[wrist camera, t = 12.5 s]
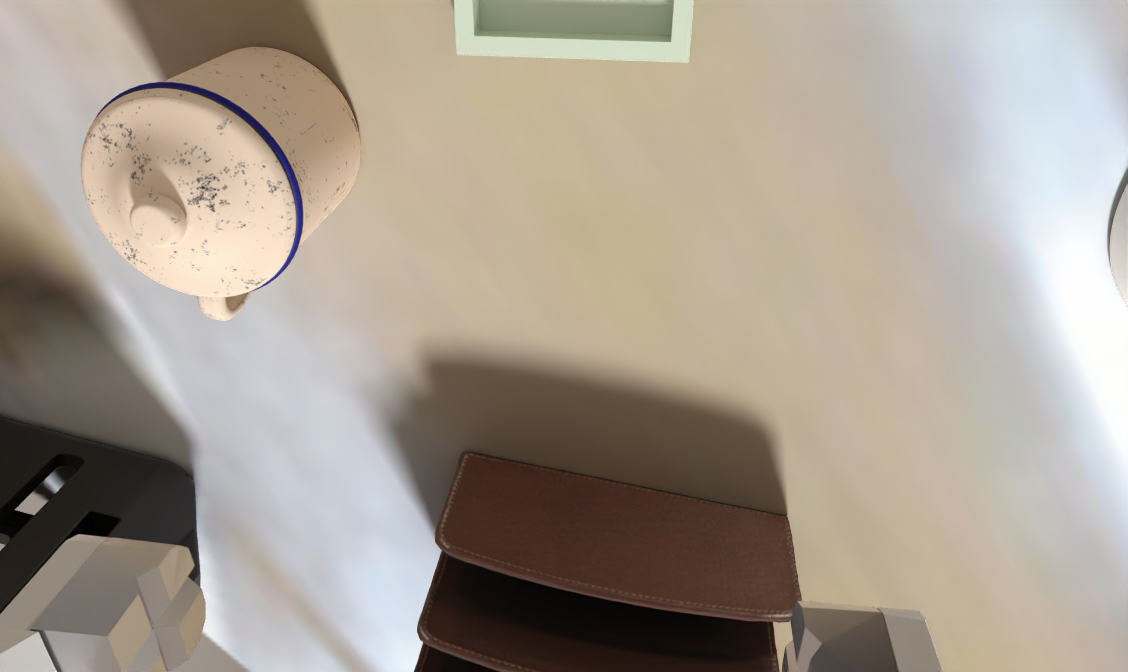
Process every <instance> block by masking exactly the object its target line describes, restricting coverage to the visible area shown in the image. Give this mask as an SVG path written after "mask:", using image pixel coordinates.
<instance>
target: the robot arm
mask: <svg viewBox="0 0 1128 672" xmlns="http://www.w3.org/2000/svg"><path fill="white" fill-rule="evenodd" d="M1110 263H1111V270H1112V274H1113V278H1114V281H1115V284H1116V287H1117V289H1118V291H1119V294H1120V295H1121V297H1122V299H1123V300H1124V302H1125V304H1126V305H1127V306H1128V184H1127V186H1126V188H1125V190H1124V192H1123V194H1122V196H1121V199H1120V201H1119V204H1118V207H1117V210H1116V213H1115V216H1114V220H1113V224H1112V229H1111V236H1110ZM194 566H195V565H194V562H193V559H192V556H191V554H190V551H189V548H187V547H183V546H180V545H172V544H164V543H155V542H147V541H139V540H130V539H122V538H109V537H100V536H91V535H82V534H78V535H76V536H74V537H72V538H70V539H68V540H66V541H65V542H64V543H63V544H62V545H61V546H60V548H59V549H58V550H57V551H56V552H55V553H54V554H53V555H52V557H51V558H50V559H49V560H48V561H47V562H46V563H45V564H44V566H43V567H42V568H41V569H40V570H39V571H38V572H37V573H36V575H35V576H34V577H33V578H32V579H31V580H30V581H29V582H28V584H27V585H26V586H25V587H24V588H23V589H22V590H21V591H20V593H19V594H18V595H17V596H16V597H15V598H14V599H13V600H12V602H11V603H10V604H9V605H8V606H7V607H6V608H5V609H4V611H3V612H2V613H1V614H0V672H170V671H172V670H173V669H175V668H176V667H178V666H179V665H181V664H182V663H184V662H185V661H187V660H188V659H189V658H190V656H191V654H192V653H193V651H194V649H195V647H196V646H197V644H198V642H199V640H200V636H201V633H202V629H203V626H204V622H205V599H204V596H203V592H202V589H201V588H200V587H199V586H198V585H196V584H195V583H194V582H193V581H192V580H191V579H190V578H189V577H188V575H189V574H190V572H191V571H192V569H193V568H194ZM791 627H792V634H793V641H791V642H790V643H789V644H787V645H786V647H785V653H784V659H783V665H782V672H943V670H942V667H941V664H940V661H939V658H938V655H937V652H936V649H935V646H934V643H933V640H932V637H931V634H930V631H929V628H928V625H927V622H926V619H925V617H924V616H923V615H922V614H921V613H920V611H912V610H901V609H889V608H877V609H876V608H875V607H868V606H855V605H843V604H830V603H818V602H805V601H797V602H796V604H795V606H794V609H793V613H792V618H791Z"/></svg>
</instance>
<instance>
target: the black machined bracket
mask: <svg viewBox="0 0 1128 672" xmlns="http://www.w3.org/2000/svg"><path fill="white" fill-rule="evenodd" d="M61 466H70V467H74V468H78V469H79V470H78V471H77V472H76V473H75V474H74V475H73V476H72V477H71V478H70V479H69V480H68V481H67V482H66V483H65V484H64V485H63V486H62V487H61V488H60V489H59V491H58V492H57V493H56V494H55V495H54V496H53V497H52V498H51V499H50V500H49V501H48V502H47V503H46V504H45V505H44V506H43V507H42V508H41V509H40V510H39V511H38V512H37V513H36V514H35V515H31V514H27V513H23V512H20V511H16V510H15V509H16V508H17V507H18V506H19V505H20V504H21V503H22V502H23V501H24V500H25V498H27V496H29V495H30V494H31V493H32V492H33V491H34V490H35V489H36V488H37V487H38V486H39V485H40V484H41V483H42V482H43V481H44V480H45V479H46V478H47V477H48V476H49V475H50V474H51V473H52V472H53V471H54V470H55V469H56V468H58V467H61ZM78 534H82V535H91V536H100V537H109V538H122V539H130V540H139V541H147V542H155V543H164V544H172V545H180V546H183V547H187V548H189V551H190V554H191V556H192V559H193V562H194V565H195V566H194V568H193V569H192V571H191V572H190V574H189V575H188V577H189V578H190V579H191V580H192V581H193V582H194V583H195V584H196V585H198V586H199V587H200V563H199V551H198V540H197V527H196V501H195V484H194V482H193V480H192V479H191V478H190V477H189V476H187V475H186V474H185V473H184V472H183V471H182V470H180V469H179V468H178V467H176V466H175V465H173V464H172V463H170V462H167V461H164V460H160V459H156V458H152V457H149V456H145V455H141V454H137V453H134V452H130V451H126V450H122V449H118V448H115V447H111V446H107V445H103V444H99V443H96V442H92V441H88V440H84V439H81V438H77V437H73V436H69V435H65V434H62V433H58V432H54V431H50V430H46V429H43V428H39V427H35V426H31V425H28V424H24V423H20V422H16V421H12V420H9V419H5V418H1V417H0V543H1V544H5V547H4V548H3V549H2V550H1V551H0V614H1V613H2V612H3V611H4V609H5V608H6V607H7V606H8V605H9V604H10V603H11V602H12V600H13V599H14V598H15V597H16V596H17V595H18V594H19V593H20V591H21V590H22V589H23V588H24V587H25V586H26V585H27V584H28V582H29V581H30V580H31V579H32V578H33V577H34V576H35V575H36V573H37V572H38V571H39V570H40V569H41V568H42V567H43V566H44V564H45V563H46V562H47V561H48V560H49V559H50V558H51V557H52V555H53V554H54V553H55V552H56V551H57V550H58V549H59V548H60V546H61V545H62V544H63V543H64V542H65V541H66V540H68V539H70V538H72V537H74V536H76V535H78Z"/></svg>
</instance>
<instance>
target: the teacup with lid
mask: <svg viewBox="0 0 1128 672" xmlns="http://www.w3.org/2000/svg"><path fill="white" fill-rule="evenodd" d="M360 160H361V143H360V136H359V131H358V127H357V124H356V121H355V118H354V115H353V113H352V111H351V109H350V107H349V105H348V103H347V101H346V100H345V98H344V97H343V95H342V94H341V92H340V91H339V90H338V88H337V87H336V86H335V85H334V83H333V82H332V81H331V80H330V79H329V78H328V77H327V76H326V75H325V74H323V73H322V72H321V71H320V70H319V69H317V68H316V67H315V66H313V65H312V64H310V63H309V62H307V61H305V60H304V59H302V58H300V57H298V56H296V55H293V54H291V53H289V52H285V51H282V50H279V49H274V48H268V47H248V48H241V49H237V50H233V51H231V52H228V53H226V54H223V55H221V56H219V57H217V58H214V59H212V60H210V61H208V62H206V63H203V64H201V65H199V66H197V67H194V68H192V69H190V70H188V71H186V72H183V73H181V74H179V75H177V76H174V77H172V78H170V79H168V80H166V81H163V82H157V83H148V84H144V85H140V86H137V87H134V88H131V89H129V90H127V91H125V92H123V93H121V94H119V95H118V96H116V97H115V98H113V99H112V100H111V101H110V102H109V103H107V104H106V105H105V106H104V107H103V109H102V110H101V111H100V112H99V113H98V115H97V116H96V118H95V120H94V121H93V123H92V125H91V126H90V129H89V131H88V133H87V135H86V138H85V141H84V145H83V150H82V157H81V177H82V185H83V189H84V194H85V197H86V200H87V203H88V206H89V209H90V211H91V213H92V215H93V217H94V219H95V221H96V223H97V225H98V226H99V228H100V230H101V231H102V233H103V234H104V236H105V237H106V238H107V240H108V241H109V242H110V244H111V245H112V246H113V247H114V248H115V250H116V251H117V252H118V253H119V254H120V255H121V256H122V257H123V258H124V259H125V260H127V261H128V262H129V263H130V264H131V265H132V266H134V267H135V268H136V269H137V270H139V271H140V272H142V273H143V274H145V275H146V276H148V277H149V278H151V279H153V280H154V281H156V282H158V283H160V284H162V285H164V286H166V287H169V288H171V289H174V290H176V291H180V292H183V293H186V294H191V295H196V296H197V297H198V303H199V306H200V309H201V310H202V312H203V313H204V314H205V315H206V316H208V317H209V318H213V319H216V320H220V321H227V320H230V319H232V318H233V317H235V316H236V315H237V314H238V313H239V312H240V311H241V309H242V308H243V307H244V305H245V304H246V302H247V301H248V299H249V297H250V295H251V293H252V291H254V290H257V289H259V288H261V287H263V286H265V285H267V284H268V283H270V282H271V281H273V280H274V279H275V278H277V277H278V276H279V275H280V274H281V273H282V272H283V271H284V270H285V268H286V267H287V266H288V265H289V263H290V262H291V260H292V259H293V257H294V255H295V253H296V251H297V249H298V247H299V246H300V244H301V243H302V242H303V241H304V240H305V239H306V238H307V237H308V236H309V235H310V234H311V233H312V232H313V231H314V230H315V229H316V228H317V227H318V226H319V225H320V224H321V222H322V221H323V220H324V219H325V218H326V217H327V216H328V215H329V214H330V213H331V212H332V211H333V210H334V209H335V208H336V207H337V206H338V205H339V204H340V203H341V202H342V200H343V199H344V198H345V197H346V196H347V194H348V193H349V191H350V190H351V188H352V186H353V184H354V182H355V180H356V177H357V174H358V171H359V166H360Z"/></svg>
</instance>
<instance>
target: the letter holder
mask: <svg viewBox="0 0 1128 672" xmlns="http://www.w3.org/2000/svg"><path fill="white" fill-rule="evenodd" d="M435 542H436V544H437V545H438V546H439V548H440V549H441V550H442V552H441V554H440V558H439V561H438V564H437V567H436V570H435V573H434V576H433V579H432V583H431V586H430V589H429V592H428V595H427V598H426V601H425V604H424V607H423V610H422V613H421V616H420V619H419V622H418V626H417V633H418V635H419V638H420V640H421V641H422V642H423V645H422V648H421V651H420V655H419V658H418V662H417V665H416V667H415V670H414V672H779V664H778V659H777V650H776V645H775V636H774V627H773V622H789V621H791V618H792V613H793V609H794V606H795V604H796V602H797V601H802V599H801V593H800V588H799V583H798V575H797V570H796V565H795V563H796V562H795V555H794V547H793V542H792V534H791V530H790V525H789V520H788V517H786V516H782V515H781V516H779V515H775V514H771V513H765V512H763V511H754V510H751V509H746V508H740V507H739V506H732V505H727V504H722V503H716V502H712V501H707V500H702V499H697V498H692V497H687V496H681V495H677V494H672V493H668V492H663V491H658V490H653V489H648V488H644V487H638V486H635V485H629V484H624V483H619V482H614V481H609V480H604V479H601V478H593V477H588V476H585V475H578V474H574V473H569V472H565V471H561V470H554V469H548V468H545V467H539V466H534V465H530V464H525V463H519V462H514V461H509V460H504V459H499V458H494V457H489V456H485V455H479V454H473V453H467V452H463V454H462V455H461V457H460V460H459V463H458V468H457V471H456V474H455V477H454V480H453V483H452V485H451V488H450V491H449V494H448V497H447V500H446V503H445V506H444V509H443V511H442V515H441V517H440V520H439V523H438V526H437V529H436V532H435Z"/></svg>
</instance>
